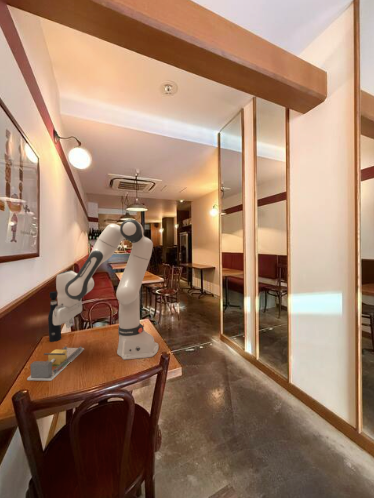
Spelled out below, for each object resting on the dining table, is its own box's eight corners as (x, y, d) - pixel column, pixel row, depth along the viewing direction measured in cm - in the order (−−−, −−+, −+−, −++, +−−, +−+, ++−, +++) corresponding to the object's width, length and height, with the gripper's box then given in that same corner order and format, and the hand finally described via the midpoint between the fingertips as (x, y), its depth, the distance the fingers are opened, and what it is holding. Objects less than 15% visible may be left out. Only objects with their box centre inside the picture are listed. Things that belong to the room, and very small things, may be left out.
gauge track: (84, 349, 117) (83, 337, 117) (51, 380, 91) (50, 365, 91) (65, 349, 118) (64, 337, 117) (27, 380, 92) (26, 364, 91)
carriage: (71, 358, 106) (70, 348, 105) (59, 369, 97) (58, 358, 96) (51, 358, 106) (51, 348, 106) (37, 369, 97) (37, 358, 97)
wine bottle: (59, 336, 135) (57, 290, 134) (62, 338, 131) (60, 291, 130) (47, 339, 130) (45, 292, 129) (51, 342, 126) (49, 293, 125)
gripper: (60, 307, 101) (62, 335, 101) (83, 295, 121) (85, 319, 122) (47, 307, 101) (50, 335, 102) (72, 296, 122) (74, 319, 122)
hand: (69, 326), depth 112 cm, fingers closed
